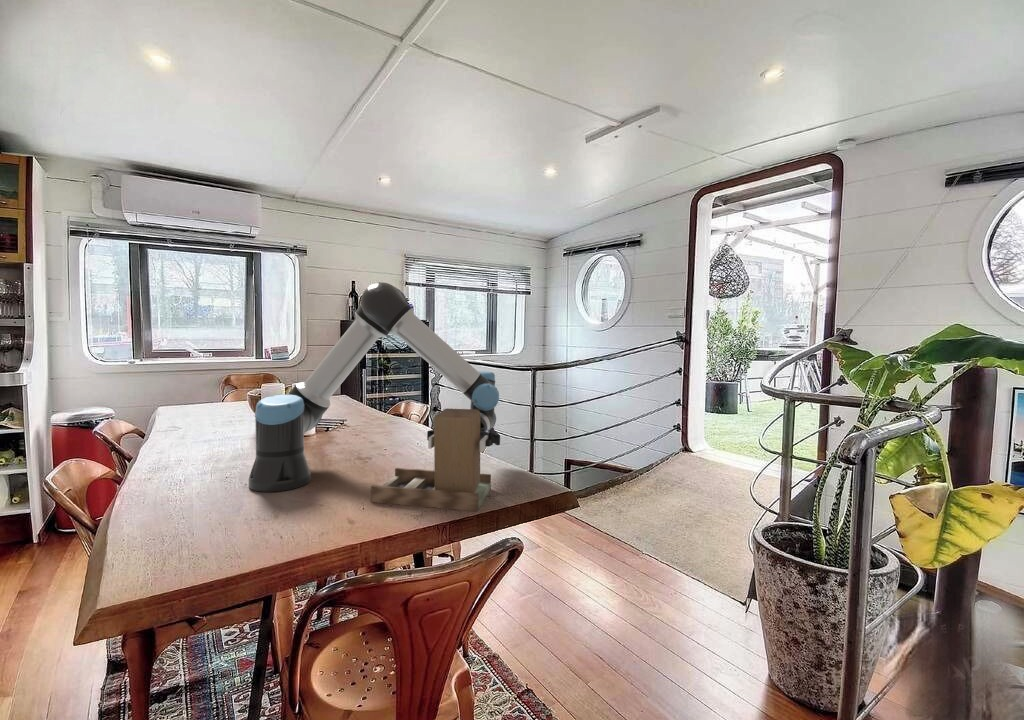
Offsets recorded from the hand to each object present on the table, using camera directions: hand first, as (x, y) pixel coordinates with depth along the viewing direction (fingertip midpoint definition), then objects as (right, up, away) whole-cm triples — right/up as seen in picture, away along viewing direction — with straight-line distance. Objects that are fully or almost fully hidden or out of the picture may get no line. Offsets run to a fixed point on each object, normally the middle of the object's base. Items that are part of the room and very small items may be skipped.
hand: (455, 444), depth 114 cm
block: (0, -12, +4) cm, 13 cm away
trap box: (-6, -14, +5) cm, 16 cm away
